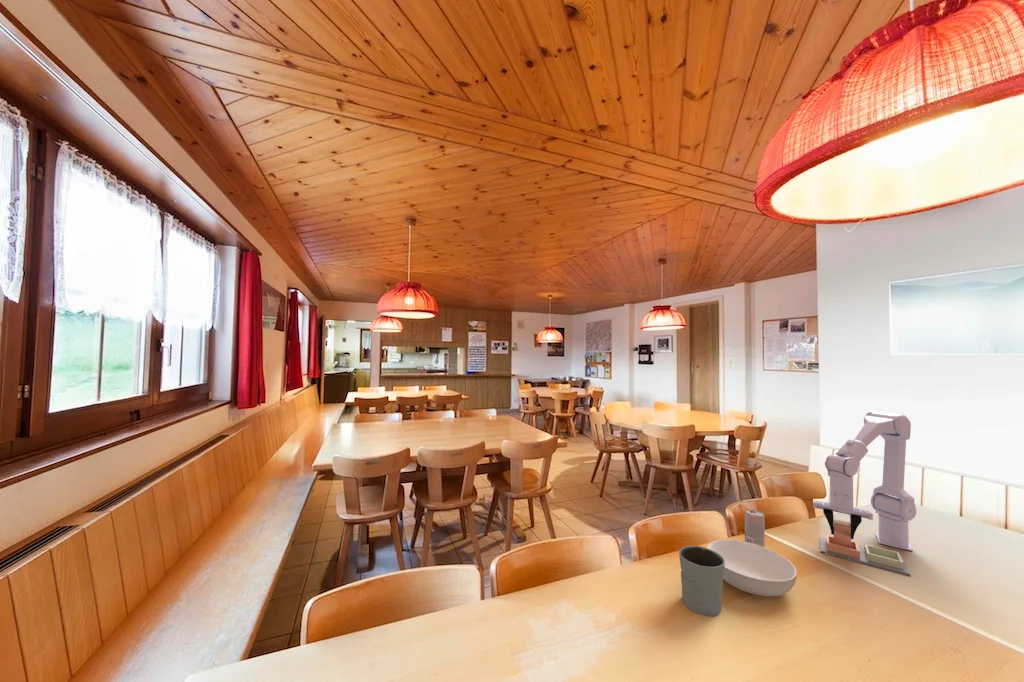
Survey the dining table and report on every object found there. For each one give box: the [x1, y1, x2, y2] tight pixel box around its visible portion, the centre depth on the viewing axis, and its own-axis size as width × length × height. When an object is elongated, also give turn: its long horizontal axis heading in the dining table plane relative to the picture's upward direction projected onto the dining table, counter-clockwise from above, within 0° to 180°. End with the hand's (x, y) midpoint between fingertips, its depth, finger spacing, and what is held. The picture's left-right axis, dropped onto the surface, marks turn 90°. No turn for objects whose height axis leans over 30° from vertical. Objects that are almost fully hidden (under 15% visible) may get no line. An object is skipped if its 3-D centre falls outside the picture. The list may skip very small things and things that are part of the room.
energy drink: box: [744, 509, 766, 548], centre depth 121 cm, size 5×5×12 cm
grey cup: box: [678, 545, 725, 617], centre depth 93 cm, size 10×10×12 cm
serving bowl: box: [706, 539, 798, 597], centre depth 103 cm, size 21×21×7 cm
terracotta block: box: [833, 518, 852, 545], centre depth 122 cm, size 4×4×6 cm
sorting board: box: [819, 534, 912, 577], centre depth 119 cm, size 12×20×3 cm, turn 52°
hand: (842, 535), depth 122 cm, fingers closed on terracotta block, 4 cm apart
